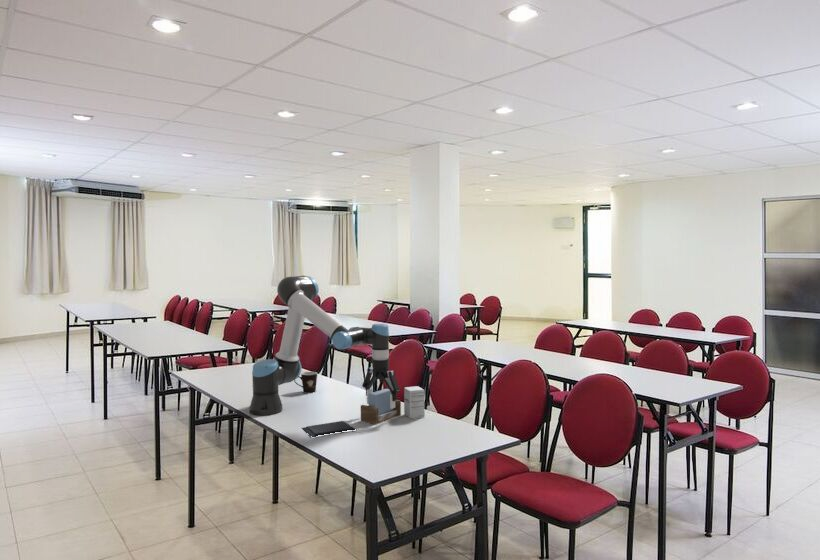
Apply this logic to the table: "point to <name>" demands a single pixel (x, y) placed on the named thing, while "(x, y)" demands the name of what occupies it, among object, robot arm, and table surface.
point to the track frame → (372, 416)
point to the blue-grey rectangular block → (380, 401)
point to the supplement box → (414, 402)
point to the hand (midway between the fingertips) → (380, 405)
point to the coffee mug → (308, 381)
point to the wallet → (327, 428)
